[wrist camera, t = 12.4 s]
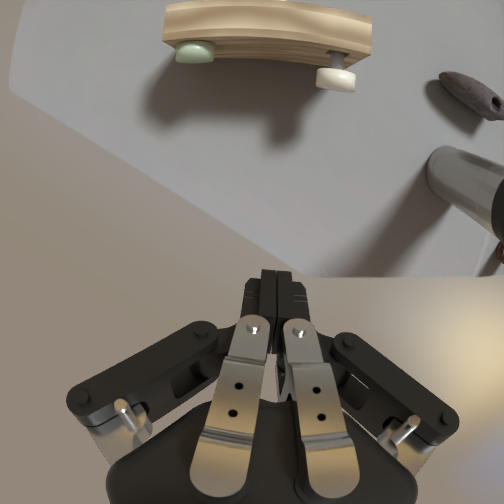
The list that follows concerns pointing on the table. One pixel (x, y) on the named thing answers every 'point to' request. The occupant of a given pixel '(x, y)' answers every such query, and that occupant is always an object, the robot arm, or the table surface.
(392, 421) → the robot arm
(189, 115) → the table surface
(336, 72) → the button white
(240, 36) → the light wood rectangular block
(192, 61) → the button sage
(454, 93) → the perforated stone tool
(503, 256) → the supplement bottle
